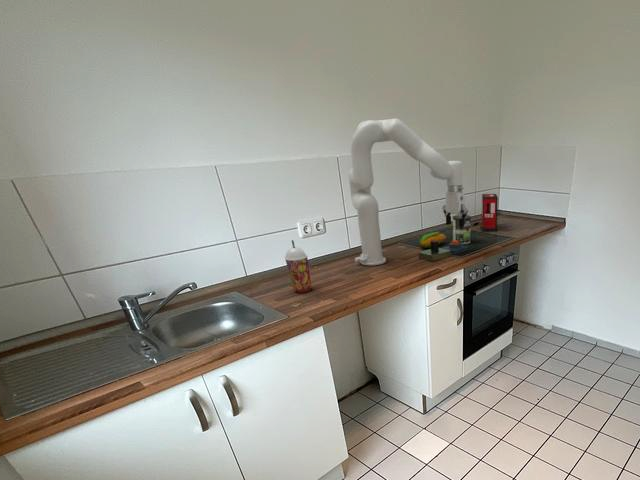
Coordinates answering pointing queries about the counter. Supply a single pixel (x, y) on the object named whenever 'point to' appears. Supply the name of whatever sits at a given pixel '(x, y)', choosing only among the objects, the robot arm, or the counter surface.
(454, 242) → the button
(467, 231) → the coffee can
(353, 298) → the counter surface
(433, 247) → the knob
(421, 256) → the panel
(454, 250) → the button box
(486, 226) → the cleaning product box
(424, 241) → the corn
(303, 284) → the smoothie
